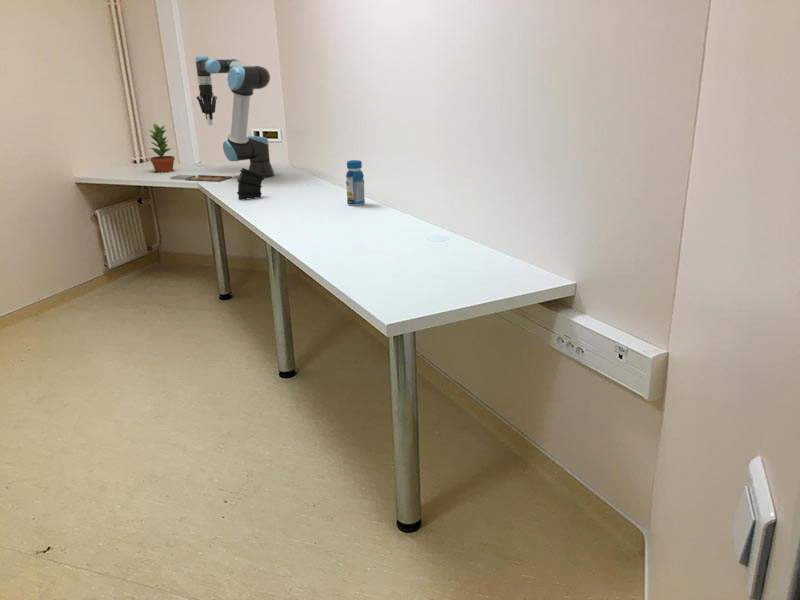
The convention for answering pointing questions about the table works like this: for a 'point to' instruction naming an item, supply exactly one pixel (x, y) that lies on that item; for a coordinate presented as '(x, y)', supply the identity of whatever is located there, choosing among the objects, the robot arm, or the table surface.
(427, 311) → the table surface
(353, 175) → the beverage bottle
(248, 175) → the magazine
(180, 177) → the cover plate
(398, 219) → the table surface
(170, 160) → the potted plant
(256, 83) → the robot arm
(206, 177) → the brown wooden tray
